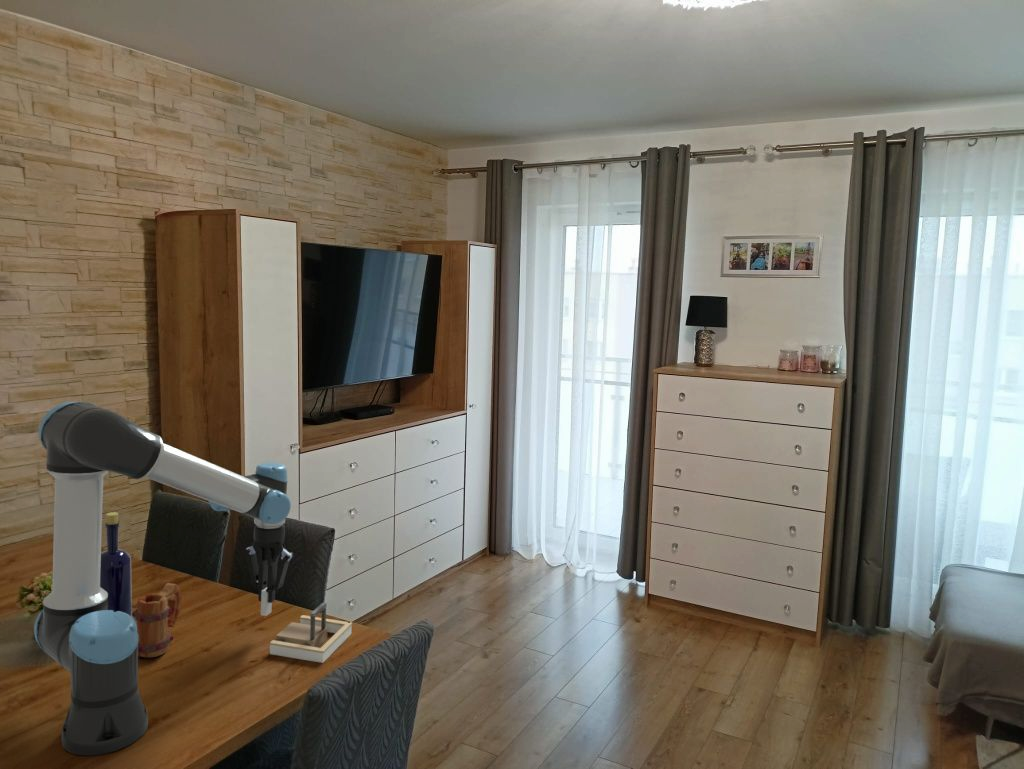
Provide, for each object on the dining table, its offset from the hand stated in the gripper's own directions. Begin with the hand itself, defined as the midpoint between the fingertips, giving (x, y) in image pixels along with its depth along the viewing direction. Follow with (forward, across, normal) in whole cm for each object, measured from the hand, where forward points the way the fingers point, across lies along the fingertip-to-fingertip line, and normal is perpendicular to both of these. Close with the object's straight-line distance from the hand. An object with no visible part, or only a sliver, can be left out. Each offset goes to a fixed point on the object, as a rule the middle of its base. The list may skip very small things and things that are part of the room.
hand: (266, 613), depth 192 cm
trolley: (+7, -10, 0) cm, 12 cm away
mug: (+7, +21, +13) cm, 26 cm away
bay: (+6, -12, -1) cm, 14 cm away
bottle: (+7, +40, +6) cm, 41 cm away
